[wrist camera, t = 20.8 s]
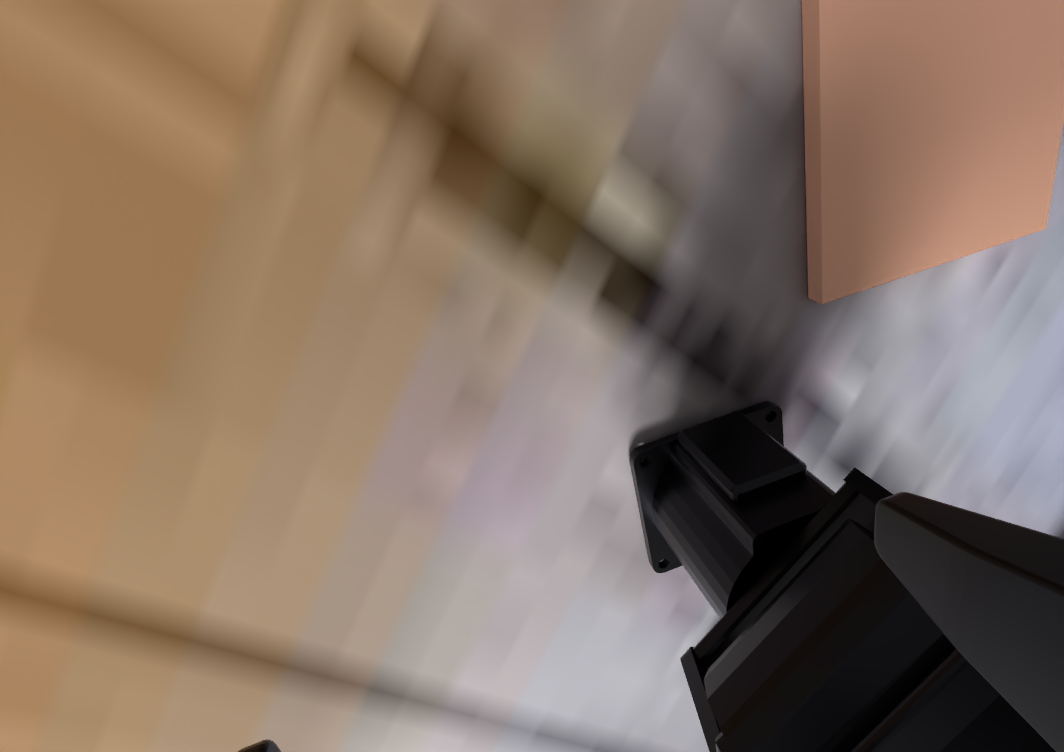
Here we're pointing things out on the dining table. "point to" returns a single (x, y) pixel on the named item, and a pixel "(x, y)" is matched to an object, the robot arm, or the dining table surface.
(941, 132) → the mat terracotta
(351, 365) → the dining table surface
